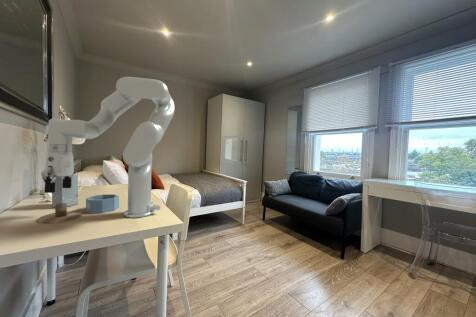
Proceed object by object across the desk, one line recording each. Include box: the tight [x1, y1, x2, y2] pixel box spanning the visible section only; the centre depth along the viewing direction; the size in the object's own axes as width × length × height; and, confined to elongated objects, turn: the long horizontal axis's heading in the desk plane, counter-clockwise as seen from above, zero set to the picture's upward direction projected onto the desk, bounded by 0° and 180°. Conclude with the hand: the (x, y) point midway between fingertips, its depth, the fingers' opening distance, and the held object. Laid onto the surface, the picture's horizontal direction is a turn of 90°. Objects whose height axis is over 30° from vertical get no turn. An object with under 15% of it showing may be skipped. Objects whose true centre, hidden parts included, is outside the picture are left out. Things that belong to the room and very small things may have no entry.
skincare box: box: [51, 174, 79, 208], centre depth 100 cm, size 8×7×16 cm
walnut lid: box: [37, 203, 82, 224], centre depth 83 cm, size 14×14×6 cm
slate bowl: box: [85, 193, 120, 214], centre depth 96 cm, size 12×12×6 cm
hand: (58, 190), depth 83 cm, fingers open, 9 cm apart
